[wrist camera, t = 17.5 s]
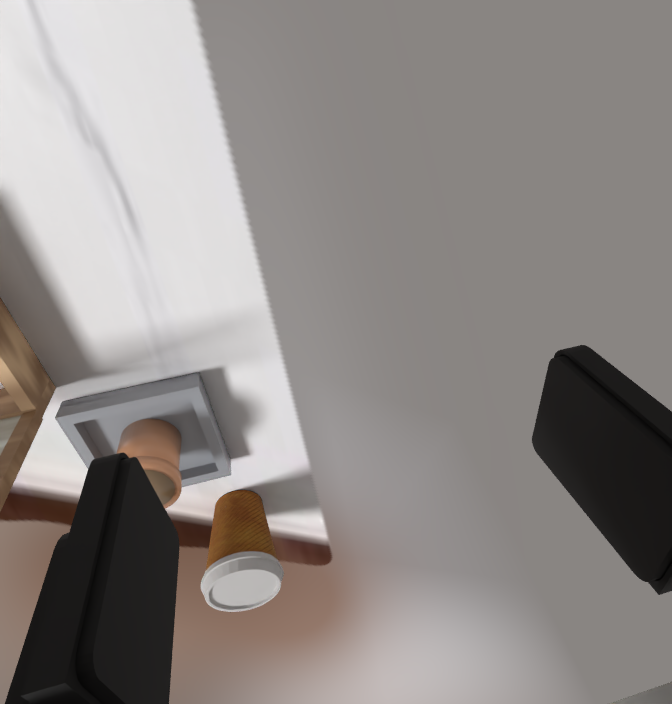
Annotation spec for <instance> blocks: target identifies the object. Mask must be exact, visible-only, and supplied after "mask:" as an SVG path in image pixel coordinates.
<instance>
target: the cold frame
mask: <svg viewBox="0 0 672 704" xmlns="http://www.w3.org/2000/svg"><path fill="white" fill-rule="evenodd" d="M0 382H1V383H2V385H3V386H4V387H5V388H4V389H0V511H1V509H2V507H3V505H4V502H5V500H6V498H7V496H8V494H9V492H10V489H11V487H12V485H13V483H14V481H15V479H16V477H17V474H18V472H19V470H20V468H21V466H22V464H23V461H24V459H25V457H26V455H27V453H28V451H29V448H30V446H31V444H32V442H33V440H34V438H35V436H36V433H37V431H38V429H39V427H40V425H41V423H42V420H43V419H42V417H43V415H44V412H45V410H46V408H47V406H48V404H49V402H50V400H51V397H52V395H53V393H54V391H55V389H56V388H55V386H54V384H53V383H52V381H51V379H50V378H49V376H48V375H47V373H46V371H45V370H44V368H43V366H42V365H41V363H40V362H39V360H38V358H37V357H36V355H35V353H34V352H33V350H32V349H31V347H30V345H29V344H28V342H27V340H26V339H25V337H24V336H23V334H22V332H21V331H20V329H19V327H18V326H17V324H16V323H15V321H14V319H13V318H12V316H11V314H10V313H9V311H8V310H7V308H6V306H5V305H4V303H3V301H2V300H1V298H0Z"/></svg>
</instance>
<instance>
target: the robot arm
mask: <svg viewBox="0 0 672 704" xmlns="http://www.w3.org/2000/svg"><path fill="white" fill-rule="evenodd" d="M532 443H533V446H534V449H535V451H536V452H537V454H538V455H539V456H540V458H541V459H542V460H543V461H544V463H545V464H546V465H547V466H548V468H549V469H550V470H551V471H552V473H553V474H554V475H555V476H556V477H557V479H558V480H559V481H560V482H561V483H562V485H563V486H564V487H565V488H566V490H567V491H568V492H569V493H570V495H571V496H572V497H573V498H574V499H575V501H576V502H577V503H578V505H579V506H580V507H581V508H582V509H583V511H584V512H585V513H586V514H587V516H588V517H589V518H590V519H591V521H592V522H593V523H594V524H595V526H596V527H597V528H598V529H599V530H600V531H601V533H602V534H603V535H604V537H605V538H606V539H607V540H608V542H609V543H610V544H611V545H612V546H613V548H614V549H615V550H616V552H617V553H618V554H619V555H620V556H621V558H622V559H623V560H624V561H625V563H626V564H627V565H628V566H629V567H630V569H631V570H632V571H633V572H634V574H635V575H636V576H637V577H638V578H640V579H641V580H643V581H645V582H649V584H650V585H651V586H652V587H653V589H654V590H655V591H656V592H657V593H658V594H659V595H660V594H663V593H666V592H669V591H672V412H671V411H670V410H669V409H668V408H666V407H665V406H664V405H662V404H661V403H660V402H659V401H657V400H656V399H655V398H653V397H652V396H651V395H649V394H648V393H647V392H646V391H644V390H643V389H642V388H641V387H639V386H638V385H637V384H636V383H634V382H633V381H632V380H630V379H629V378H628V377H627V376H625V375H624V374H623V373H621V372H620V371H619V370H618V369H616V368H615V367H614V366H612V365H611V364H610V363H608V362H607V361H606V360H605V359H603V358H602V357H601V356H600V355H598V354H597V353H596V352H594V351H593V350H592V349H591V348H589V347H587V346H585V345H580V346H576V347H572V348H567V349H563V350H560V351H557V352H556V353H555V356H554V358H552V359H551V360H550V362H549V366H548V370H547V374H546V379H545V383H544V388H543V392H542V396H541V401H540V405H539V410H538V414H537V419H536V423H535V428H534V432H533V436H532ZM178 559H179V538H178V534H177V531H176V529H175V527H174V525H173V523H172V521H171V519H170V518H169V516H168V514H167V512H166V510H165V508H164V506H163V505H162V503H161V501H160V499H159V497H158V495H157V493H156V492H155V490H154V488H153V486H152V484H151V482H150V480H149V479H148V477H147V475H146V473H145V471H144V469H143V467H142V466H141V464H140V462H139V460H138V459H137V458H136V457H132V458H129V457H128V456H127V454H125V453H124V452H123V453H118V454H113V455H109V456H105V457H100V458H96V459H93V460H92V461H91V463H90V466H89V469H88V472H87V476H86V479H85V482H84V486H83V489H82V492H81V496H80V499H79V502H78V506H77V509H76V512H75V516H74V519H73V523H72V526H71V529H70V532H69V533H67V534H64V535H62V537H61V538H60V539H59V540H58V542H57V544H56V546H55V549H54V552H53V555H52V558H51V561H50V564H49V567H48V571H47V573H46V577H45V580H44V583H43V586H42V589H41V592H40V596H39V599H38V602H37V605H36V608H35V611H34V614H33V617H32V621H31V623H30V627H29V630H28V633H27V636H26V639H25V642H24V645H23V648H22V652H21V655H20V658H19V661H18V664H17V667H16V671H15V674H14V677H13V680H12V683H11V686H10V689H9V692H8V696H7V699H6V702H5V704H169V692H170V678H171V663H172V648H173V633H174V618H175V604H176V588H177V574H178ZM610 704H672V682H670V683H667V684H665V685H662V686H659V687H656V688H653V689H650V690H647V691H644V692H641V693H638V694H636V695H633V696H630V697H627V698H624V699H621V700H618V701H616V702H613V703H610Z"/></svg>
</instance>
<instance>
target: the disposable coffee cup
mask: <svg viewBox="0 0 672 704" xmlns="http://www.w3.org/2000/svg"><path fill="white" fill-rule="evenodd" d="M283 574H284V572H283V568H282V566H281V564H280V563H279V561H278V560H277V557H276V553H275V549H274V545H273V542H272V539H271V535H270V531H269V527H268V523H267V519H266V515H265V512H264V508H263V504H262V500H261V498H260V496H259V495H258V494H256V493H254V492H252V491H247V490H237V491H233V492H230V493H227V494H225V495H223V496H222V497H221V498H220V499H219V500H218V501H217V503H216V505H215V511H214V518H213V525H212V532H211V539H210V546H209V553H208V561H207V567H206V572H205V574H204V577H203V578H202V581H201V590H202V593H203V594H204V596H205V600H206V602H207V603H208V604H209V606H211V607H213V608H214V609H217V610H220V611H229V612H238V611H244V610H249V609H253V608H256V607H258V606H261V605H263V604H265V603H267V602H268V601H270V600H271V599H272V598H274V597H275V595H276V594H277V593H278V592H279V590H280V587H281V581H282V578H283Z"/></svg>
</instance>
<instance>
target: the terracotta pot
mask: <svg viewBox="0 0 672 704" xmlns="http://www.w3.org/2000/svg"><path fill="white" fill-rule="evenodd" d="M181 443H182V437H181V434H180V432H179V430H178V429H177V428H176V427H175V426H174V425H172V424H170V423H169V422H166V421H163V420H159V419H143V420H139V421H136V422H133V423H131V424H130V425H128V426H127V427H126V428H125V429H124V430H123V432H122V434H121V437H120V441H119V445H118V449H117V453H116V454H118V453H123V452H124V453H125V454H127V456H128V457H129V458H132V457H136V458H137V459H138V460H139V462H140V464H141V466H142V467H143V469H144V471H145V473H146V475H147V477H148V479H149V480H150V482H151V484H152V486H153V488H154V490H155V492H156V493H157V495H158V497H159V499H160V501H161V503H162V505H163V506H164V508H167V507H169V506H171V505H172V504H173V503H174V502H175V501H176V500H177V499H178V498H179V496H180V493H181V487H182V475H181V472H180V471H179V464H180V453H181Z"/></svg>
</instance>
